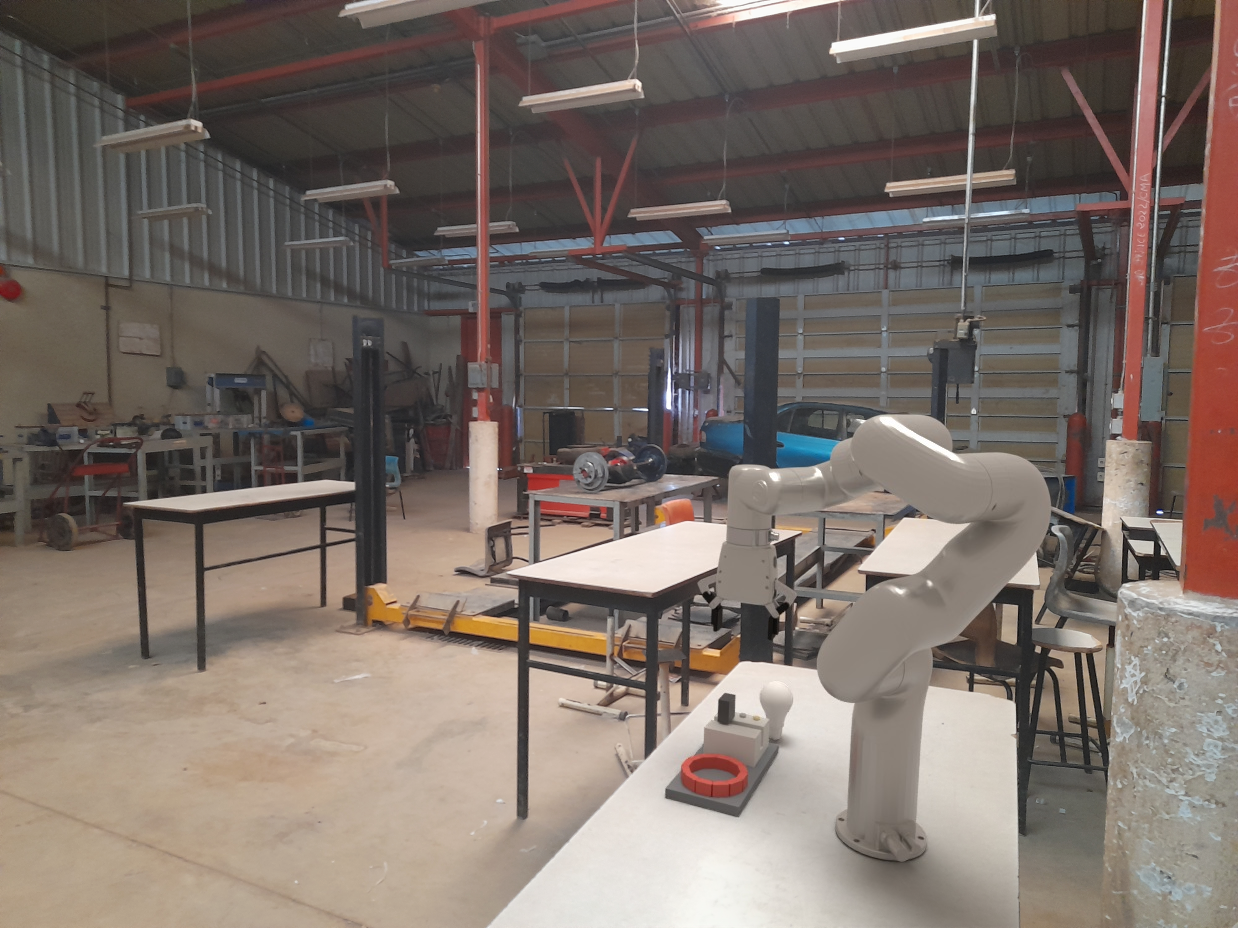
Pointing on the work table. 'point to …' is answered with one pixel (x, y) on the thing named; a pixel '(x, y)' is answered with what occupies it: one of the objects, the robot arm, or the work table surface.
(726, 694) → the block
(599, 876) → the work table surface
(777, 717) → the lightbulb
